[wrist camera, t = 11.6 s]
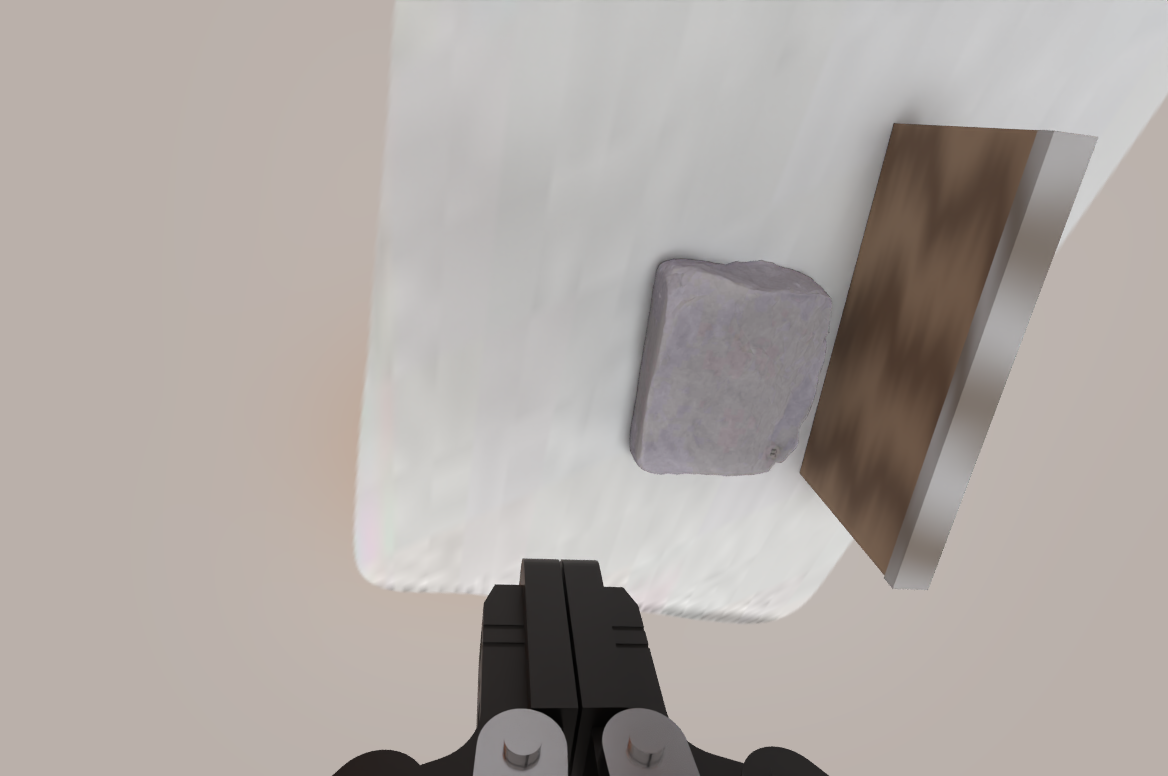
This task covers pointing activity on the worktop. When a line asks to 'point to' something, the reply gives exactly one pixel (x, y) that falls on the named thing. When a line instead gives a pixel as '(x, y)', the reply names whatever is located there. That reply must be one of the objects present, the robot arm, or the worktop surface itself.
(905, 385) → the walnut wall board
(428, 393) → the worktop surface
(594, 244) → the worktop surface
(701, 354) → the stone block
